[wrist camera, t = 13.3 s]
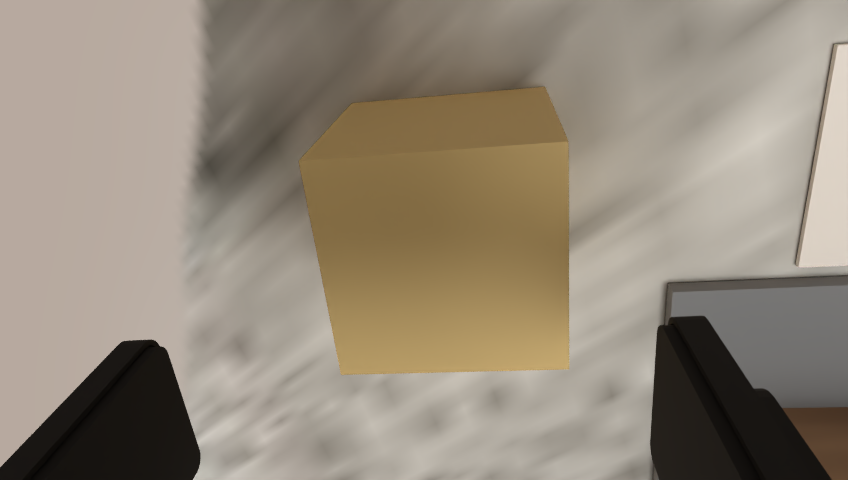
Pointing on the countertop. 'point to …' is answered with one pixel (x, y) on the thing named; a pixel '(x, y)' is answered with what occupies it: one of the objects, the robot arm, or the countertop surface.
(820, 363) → the grey flat board
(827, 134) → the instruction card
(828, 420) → the walnut base brick
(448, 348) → the ochre brick
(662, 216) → the countertop surface
